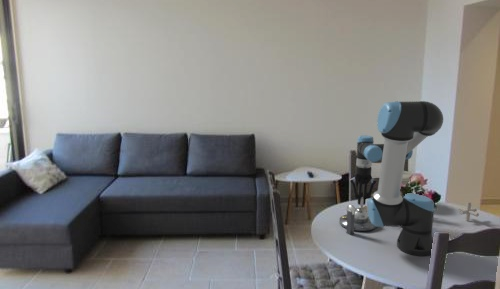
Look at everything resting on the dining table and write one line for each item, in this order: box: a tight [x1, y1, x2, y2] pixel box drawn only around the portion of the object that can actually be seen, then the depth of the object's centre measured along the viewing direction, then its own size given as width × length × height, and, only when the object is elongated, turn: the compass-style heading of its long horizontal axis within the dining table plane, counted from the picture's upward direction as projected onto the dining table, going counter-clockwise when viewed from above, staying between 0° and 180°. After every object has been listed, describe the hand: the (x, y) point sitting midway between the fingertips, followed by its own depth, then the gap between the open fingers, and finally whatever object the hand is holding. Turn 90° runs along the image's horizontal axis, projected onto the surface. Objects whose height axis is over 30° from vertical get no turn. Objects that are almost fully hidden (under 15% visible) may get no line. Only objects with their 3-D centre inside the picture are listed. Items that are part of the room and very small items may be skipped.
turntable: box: [339, 205, 378, 232], centre depth 190 cm, size 19×18×5 cm
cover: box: [354, 207, 368, 224], centre depth 189 cm, size 8×8×6 cm
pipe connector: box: [457, 201, 480, 223], centre depth 191 cm, size 10×10×10 cm
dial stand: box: [345, 204, 356, 236], centre depth 179 cm, size 5×2×14 cm, turn 33°
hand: (361, 210), depth 198 cm, fingers closed
